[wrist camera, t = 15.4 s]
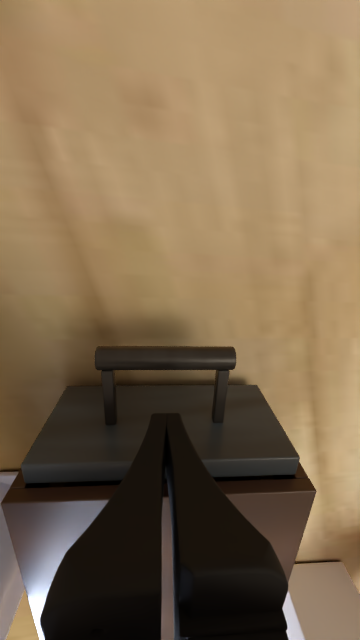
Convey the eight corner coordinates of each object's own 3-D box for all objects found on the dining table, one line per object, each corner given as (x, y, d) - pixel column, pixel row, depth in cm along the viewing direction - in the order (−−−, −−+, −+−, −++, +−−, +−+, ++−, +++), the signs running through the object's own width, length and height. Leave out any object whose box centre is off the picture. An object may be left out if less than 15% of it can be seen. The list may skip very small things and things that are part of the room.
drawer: (58, 321, 16) (-2, 377, 10) (266, 324, 17) (322, 376, 11) (83, 511, 22) (54, 615, 16) (237, 504, 23) (263, 601, 17)
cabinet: (64, 392, 19) (-1, 503, 11) (258, 391, 20) (317, 491, 12) (81, 518, 23) (43, 655, 16) (238, 511, 24) (272, 636, 17)
